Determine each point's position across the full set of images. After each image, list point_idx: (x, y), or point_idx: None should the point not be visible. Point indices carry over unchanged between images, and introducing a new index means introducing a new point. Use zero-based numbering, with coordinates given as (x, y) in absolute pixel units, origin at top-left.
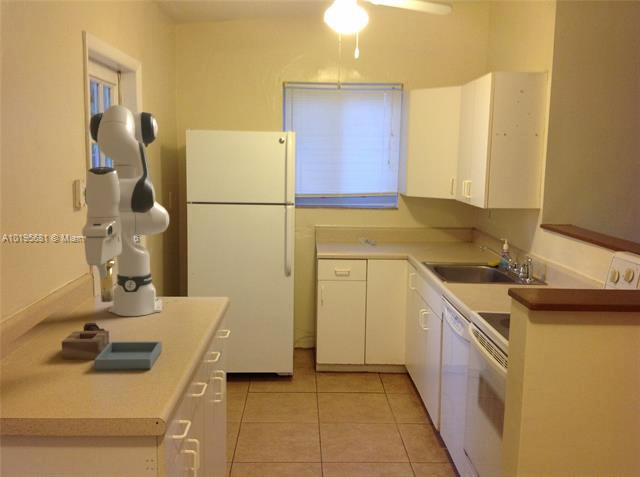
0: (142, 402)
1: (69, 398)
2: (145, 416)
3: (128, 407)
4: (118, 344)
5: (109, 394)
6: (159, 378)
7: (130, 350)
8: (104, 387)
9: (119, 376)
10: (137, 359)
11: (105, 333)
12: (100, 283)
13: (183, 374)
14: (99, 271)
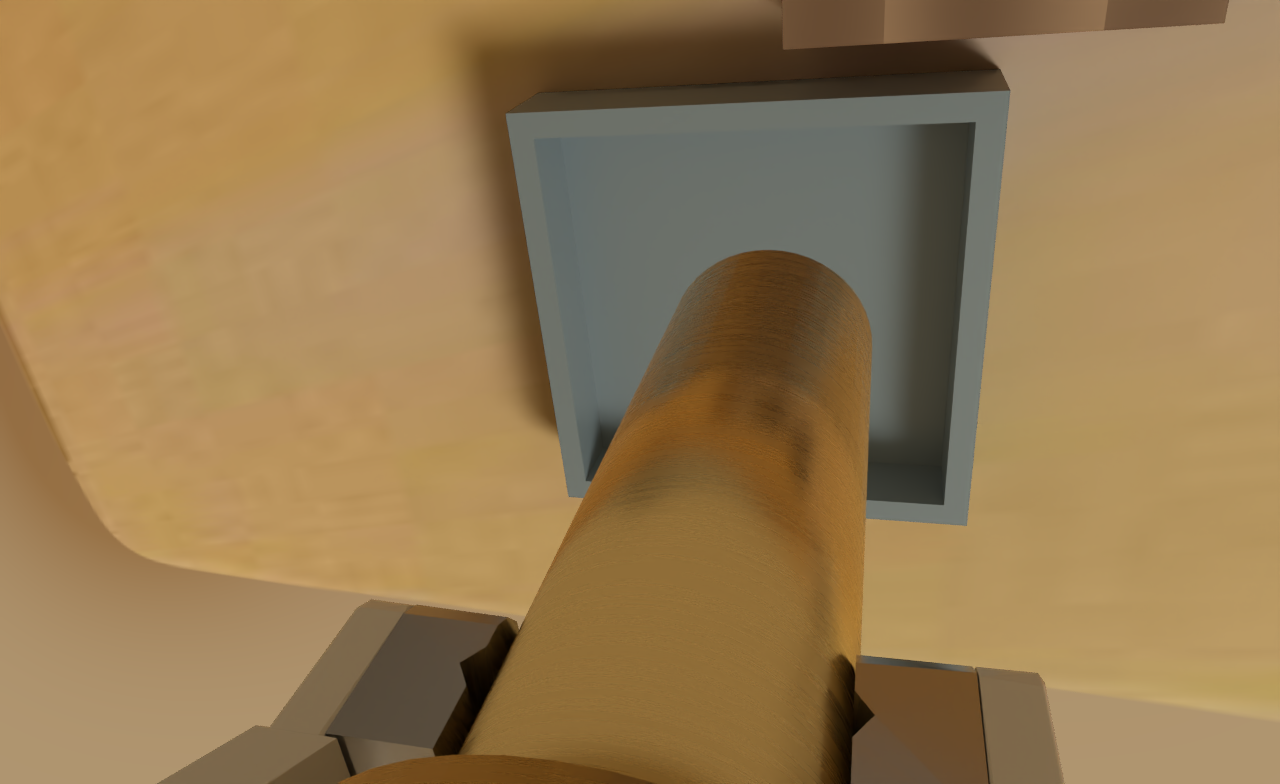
0: (200, 477)
1: (109, 107)
2: (98, 505)
3: (138, 430)
4: (969, 175)
5: (224, 311)
6: (475, 513)
7: (957, 261)
8: (294, 257)
9: (463, 298)
10: (557, 422)
11: (1103, 21)
12: (650, 431)
13: None
14: (247, 738)
